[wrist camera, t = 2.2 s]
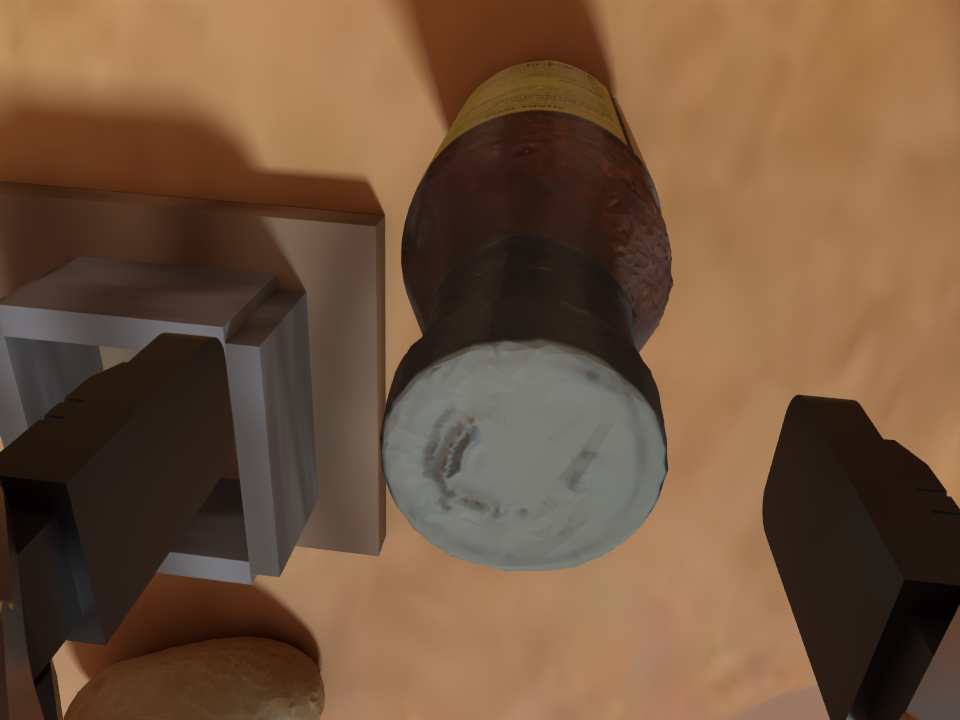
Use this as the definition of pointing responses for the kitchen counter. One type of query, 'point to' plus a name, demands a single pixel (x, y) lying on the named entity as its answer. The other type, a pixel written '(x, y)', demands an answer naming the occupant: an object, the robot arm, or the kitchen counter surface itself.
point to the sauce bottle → (531, 329)
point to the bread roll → (207, 684)
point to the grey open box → (245, 338)
